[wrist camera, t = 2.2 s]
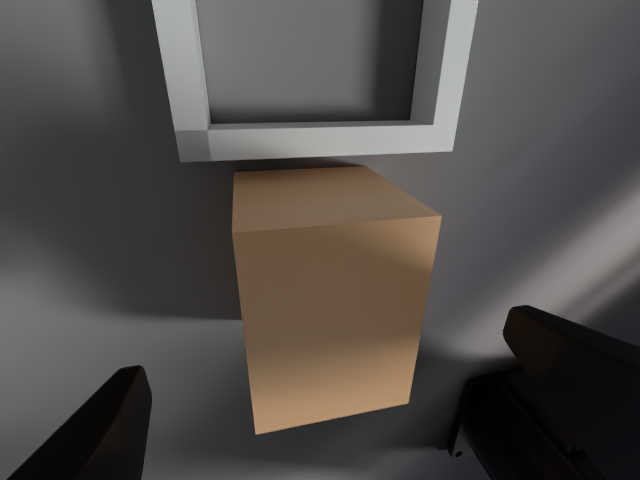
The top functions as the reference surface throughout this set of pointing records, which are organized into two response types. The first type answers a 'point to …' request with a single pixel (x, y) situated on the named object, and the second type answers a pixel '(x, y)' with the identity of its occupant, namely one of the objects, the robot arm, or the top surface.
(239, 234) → the tan parcel box
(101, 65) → the top surface
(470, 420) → the robot arm
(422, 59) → the pale green framed piece
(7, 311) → the top surface
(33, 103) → the top surface
